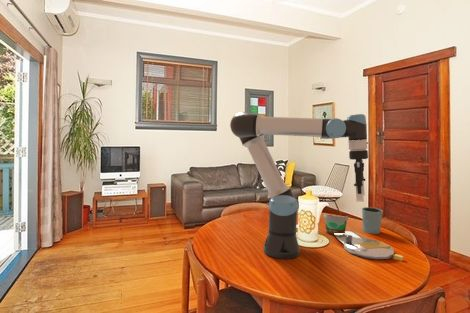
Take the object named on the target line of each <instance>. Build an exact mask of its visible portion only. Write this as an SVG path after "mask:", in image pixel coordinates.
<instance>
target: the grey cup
mask: <svg viewBox="0 0 470 313" xmlns="http://www.w3.org/2000/svg"><path fill="white" fill-rule="evenodd" d="M361 214H362V216H361V217H362V231H363V232H364V233H368V234H370V235H371V234H373V235H377V234H380V233H381V225H382V219H383V218H382V217H383V214H384V211H383V210H382V209H380V208H377V207H370V206H369V207H368V206H367V207H365V206H364V207H362V208H361Z"/></svg>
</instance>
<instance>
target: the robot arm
mask: <svg viewBox="0 0 470 313" xmlns="http://www.w3.org/2000/svg"><path fill="white" fill-rule="evenodd" d="M346 117H347V118H346V119H344V120H343V119H341V118H337V117H336V118H314V117H311V118H309V117H289V116H288V117H284V116H283V117H282V116H280V117H279V116H262V115H261V114H260V113H252V112H251V113H249V112H245V111H242V112H237V113H236V114H234V116H232V118H231V120H230V123H229V124H230V125H229V126H230V130H231V132H232V134H233V135H234V136H236V137H237V138H239V140H240V142H241V144H242V146H243V147H246V148H247V150H248V152H249V154H250V156H251V158H252V161H253V162H254V165H255V167H256V168H257V171H258V173H259V175H260V177H261V180H262V182H263V184H264V185H265V188H266V190H267V192H268V194H267V199H268V201H269V203H268V208H269V209H268V211H269V212H268V233H267V236H266V238H265V242H264V245H263V252H264V254H265V255H267V256H268V257H271V258H275V259H280V260H289V259H291V260H292V259H295V258H297V257H299V256H300V250H301V249H300V245H299V241H298V238H297V223H298V222H297V220H298V219H297V218H298V213H299V209H300V208H299V207H300V205H299V201H298V199H297V197H296V196H295V195H294V193H293V191H292V189H291V187H290V186H287V185H286V183H285V181H284V180H283V178H282V175H281V173H280V171H279V169H278V167H277V164H276V163H275V161H274V159H273V156H272V154H271V152H270V150H269V149H268V147H267V146H268V145H267V144H266V141H265V136H267V135H268V136H269V135H271V136H272V135H273V136H287V137H289V136H292V137H296V136H297V137H308V138H309V137H310V138H312V137H314V138H320V139H322V140H325V139H326V140H327V139H328V140H329V139H339V138H348V142H347V143H348V150H350V151H349V153H348V156H349V157H348V158H349V160H355V162H354V163H353V167H354V168H353V169H354V174H355V183H354V184H353V186H354V187H355V193H356V194H355V196H356V202H364V197H365V196H366V193H365V182H366V178H365V177H364V170H365V163H364V162H363V161H364V160H367V159H368V158H369V151H368V145H369V144H370V142H369V141H368V132H367V131H368V130H367V129H368V127H367V126H368V125H367V117H366V115H365V114H363V113H362V114H361V113H359V114H358V113H356V114H349V115H348V116H346Z"/></svg>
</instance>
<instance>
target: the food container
mask: <svg viewBox="0 0 470 313" xmlns="http://www.w3.org/2000/svg"><path fill="white" fill-rule="evenodd" d="M323 218H324V222H325V225H324V226H325V233H326V234H327V235H331V236H334V233H345V234H346V229H347V223H348V221H349V216H348V215H346V216H341V215H337V214H327V213H324V214H323Z"/></svg>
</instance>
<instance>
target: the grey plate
mask: <svg viewBox="0 0 470 313" xmlns="http://www.w3.org/2000/svg"><path fill="white" fill-rule="evenodd" d="M343 248H344V250H345V251H346V252H348V253H349V254H351V255H355V256H357V257H361V258H365V259H370V260H389V259H393V258H394V253H395V250H394V248H393V247H392V245H390V244H388V243H386V242H383V241H381V240H377V239H371V238H366V237H353V235H351V234H346V236H345V240H344V241H343Z"/></svg>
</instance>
